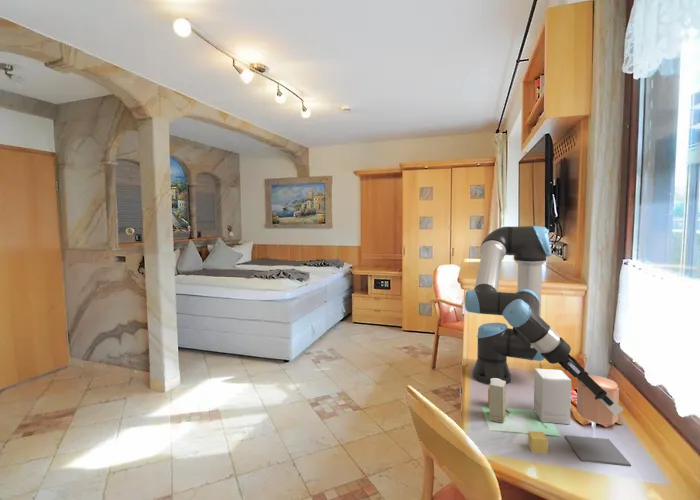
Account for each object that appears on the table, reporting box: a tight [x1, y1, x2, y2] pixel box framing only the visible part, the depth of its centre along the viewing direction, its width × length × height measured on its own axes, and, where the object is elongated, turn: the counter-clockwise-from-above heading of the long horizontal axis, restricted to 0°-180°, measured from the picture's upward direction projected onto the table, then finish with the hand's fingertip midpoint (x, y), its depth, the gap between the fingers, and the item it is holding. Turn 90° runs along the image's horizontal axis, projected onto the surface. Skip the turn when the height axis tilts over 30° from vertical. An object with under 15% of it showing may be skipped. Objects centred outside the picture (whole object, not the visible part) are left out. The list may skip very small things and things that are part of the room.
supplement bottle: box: [487, 378, 501, 408], centre depth 130 cm, size 5×5×10 cm
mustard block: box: [527, 430, 549, 454], centre depth 106 cm, size 4×4×4 cm
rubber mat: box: [564, 434, 632, 467], centre depth 105 cm, size 12×12×1 cm
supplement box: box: [533, 367, 572, 425], centre depth 123 cm, size 9×9×15 cm
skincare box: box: [488, 379, 507, 424], centre depth 123 cm, size 6×4×12 cm
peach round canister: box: [576, 374, 620, 425], centre depth 103 cm, size 9×9×10 cm
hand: (609, 403), depth 103 cm, fingers closed on peach round canister, 9 cm apart
